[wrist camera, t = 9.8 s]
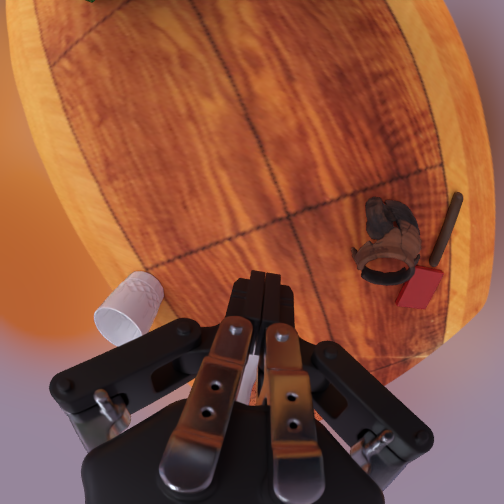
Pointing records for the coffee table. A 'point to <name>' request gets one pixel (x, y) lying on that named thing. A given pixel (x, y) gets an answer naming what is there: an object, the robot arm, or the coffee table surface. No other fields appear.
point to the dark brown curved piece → (389, 241)
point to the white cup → (130, 308)
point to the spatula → (425, 278)
